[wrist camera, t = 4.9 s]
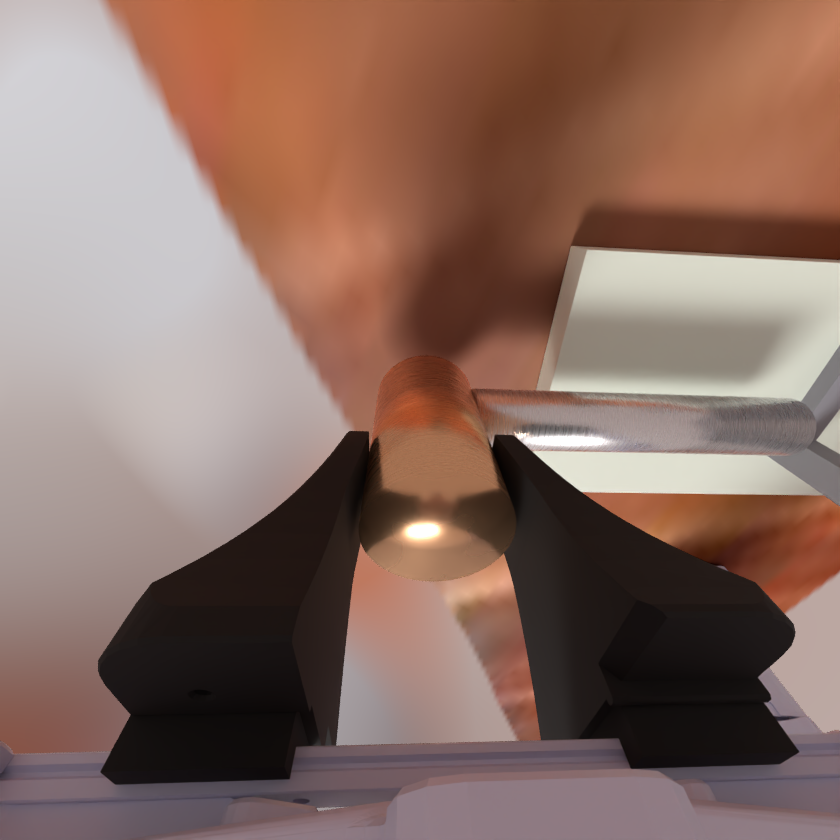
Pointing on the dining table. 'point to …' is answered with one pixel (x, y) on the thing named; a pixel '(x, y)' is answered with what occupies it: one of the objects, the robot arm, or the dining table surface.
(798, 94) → the dining table surface
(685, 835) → the robot arm
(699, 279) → the eye stand
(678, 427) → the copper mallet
